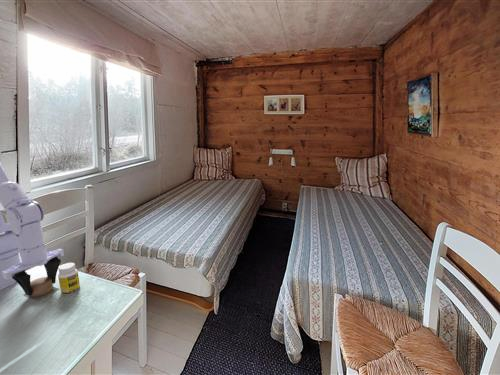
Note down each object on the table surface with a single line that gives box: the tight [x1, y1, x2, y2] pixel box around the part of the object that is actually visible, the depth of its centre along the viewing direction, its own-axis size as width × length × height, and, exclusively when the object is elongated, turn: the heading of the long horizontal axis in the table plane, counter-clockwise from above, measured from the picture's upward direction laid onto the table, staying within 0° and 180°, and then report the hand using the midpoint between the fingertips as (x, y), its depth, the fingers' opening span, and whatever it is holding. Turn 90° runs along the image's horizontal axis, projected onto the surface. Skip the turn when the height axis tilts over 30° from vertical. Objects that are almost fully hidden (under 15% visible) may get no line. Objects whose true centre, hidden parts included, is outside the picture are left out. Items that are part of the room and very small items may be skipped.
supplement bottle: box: [57, 262, 81, 296], centre depth 78 cm, size 5×5×8 cm
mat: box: [23, 286, 60, 302], centre depth 78 cm, size 7×6×1 cm
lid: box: [30, 276, 54, 299], centre depth 77 cm, size 6×6×3 cm
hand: (41, 288), depth 78 cm, fingers closed on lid, 6 cm apart
